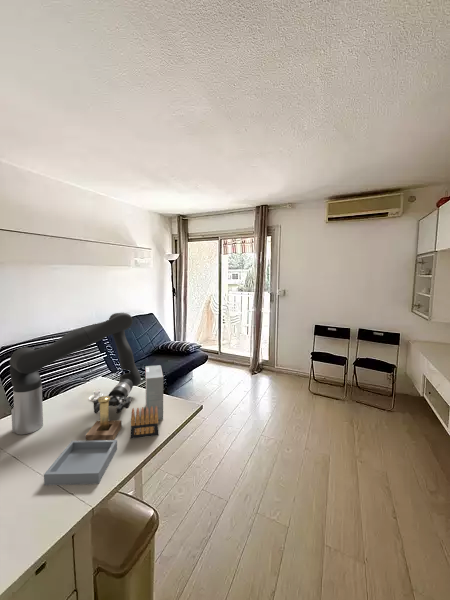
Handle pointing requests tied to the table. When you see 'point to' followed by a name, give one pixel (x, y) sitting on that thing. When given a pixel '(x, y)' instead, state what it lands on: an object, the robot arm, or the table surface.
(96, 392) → the white rounded piece
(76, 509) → the table surface
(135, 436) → the ammunition clip
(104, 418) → the pin
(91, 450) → the slate tray
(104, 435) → the socket block
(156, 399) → the hard drive box
